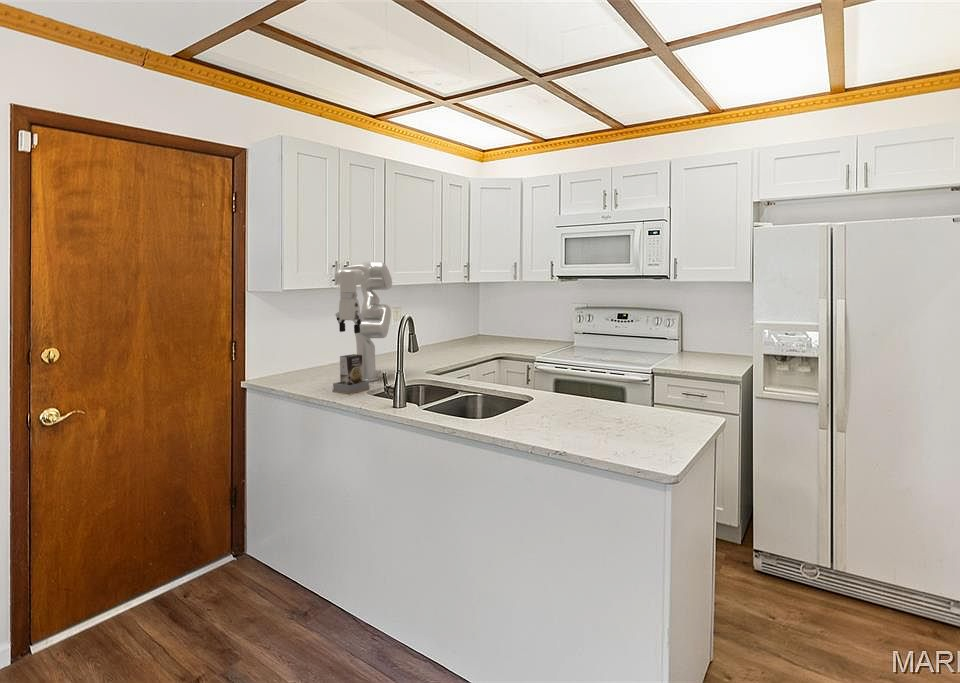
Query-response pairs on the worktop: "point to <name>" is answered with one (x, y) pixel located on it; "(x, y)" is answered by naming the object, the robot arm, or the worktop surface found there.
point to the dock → (351, 387)
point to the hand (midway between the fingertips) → (349, 332)
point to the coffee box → (351, 369)
